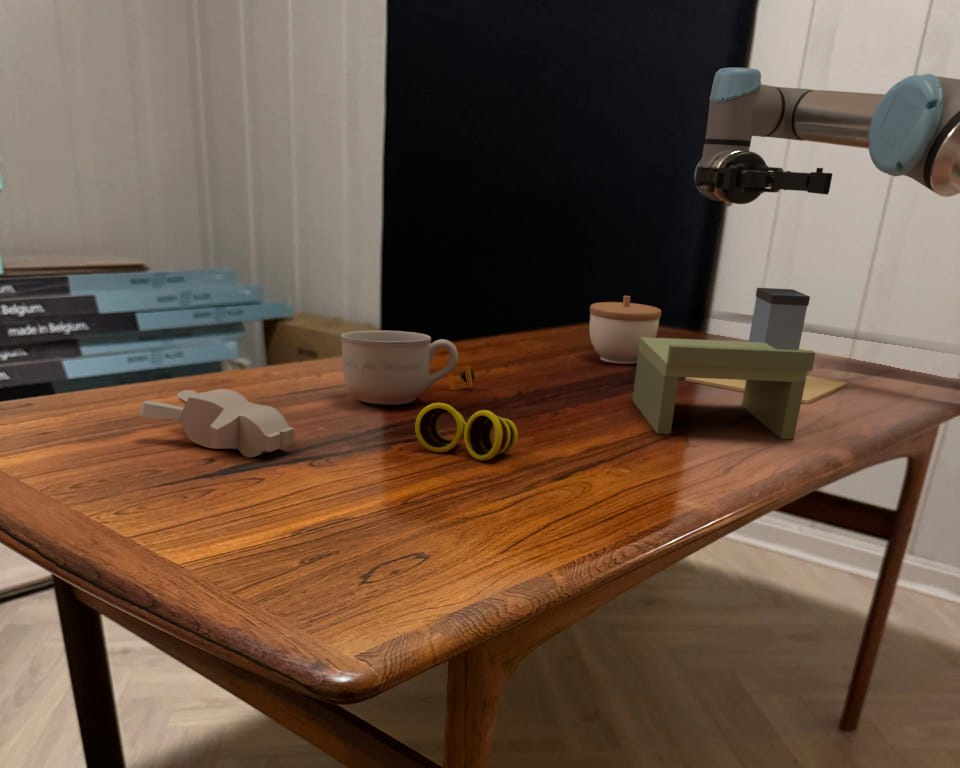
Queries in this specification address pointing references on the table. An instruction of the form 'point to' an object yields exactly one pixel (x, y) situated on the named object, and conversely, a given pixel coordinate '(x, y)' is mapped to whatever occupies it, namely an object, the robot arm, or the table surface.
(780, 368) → the stool
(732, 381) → the mat
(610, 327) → the trinket box
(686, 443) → the table surface
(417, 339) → the teacup
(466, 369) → the framed picture
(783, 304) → the dark-capped grey pillar
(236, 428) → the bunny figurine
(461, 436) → the opera glasses
